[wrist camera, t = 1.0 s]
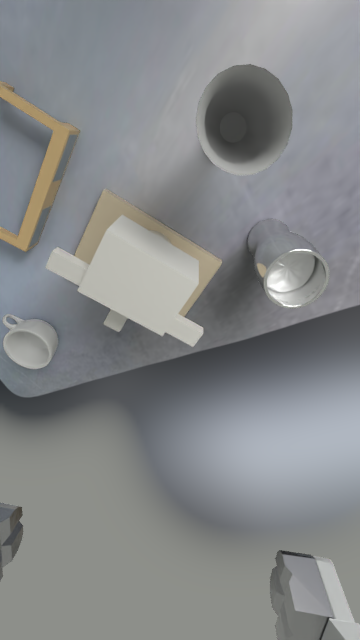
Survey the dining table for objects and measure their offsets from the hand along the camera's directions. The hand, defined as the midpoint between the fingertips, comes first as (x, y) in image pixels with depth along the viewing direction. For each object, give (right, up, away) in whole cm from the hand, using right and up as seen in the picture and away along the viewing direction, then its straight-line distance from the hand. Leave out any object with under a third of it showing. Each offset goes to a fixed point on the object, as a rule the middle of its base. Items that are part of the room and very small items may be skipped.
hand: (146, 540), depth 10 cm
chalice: (+7, +30, +29) cm, 43 cm away
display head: (-4, +15, +38) cm, 42 cm away
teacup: (-24, +6, +45) cm, 52 cm away
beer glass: (+14, +18, +36) cm, 43 cm away
